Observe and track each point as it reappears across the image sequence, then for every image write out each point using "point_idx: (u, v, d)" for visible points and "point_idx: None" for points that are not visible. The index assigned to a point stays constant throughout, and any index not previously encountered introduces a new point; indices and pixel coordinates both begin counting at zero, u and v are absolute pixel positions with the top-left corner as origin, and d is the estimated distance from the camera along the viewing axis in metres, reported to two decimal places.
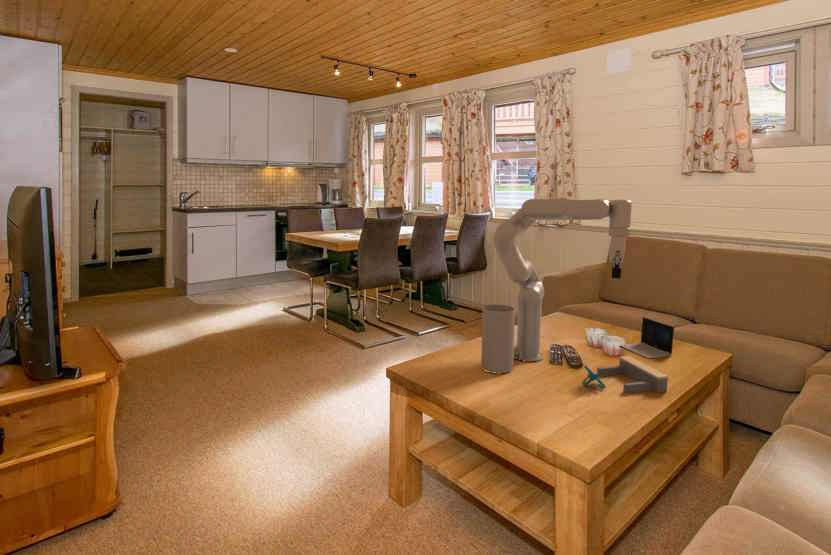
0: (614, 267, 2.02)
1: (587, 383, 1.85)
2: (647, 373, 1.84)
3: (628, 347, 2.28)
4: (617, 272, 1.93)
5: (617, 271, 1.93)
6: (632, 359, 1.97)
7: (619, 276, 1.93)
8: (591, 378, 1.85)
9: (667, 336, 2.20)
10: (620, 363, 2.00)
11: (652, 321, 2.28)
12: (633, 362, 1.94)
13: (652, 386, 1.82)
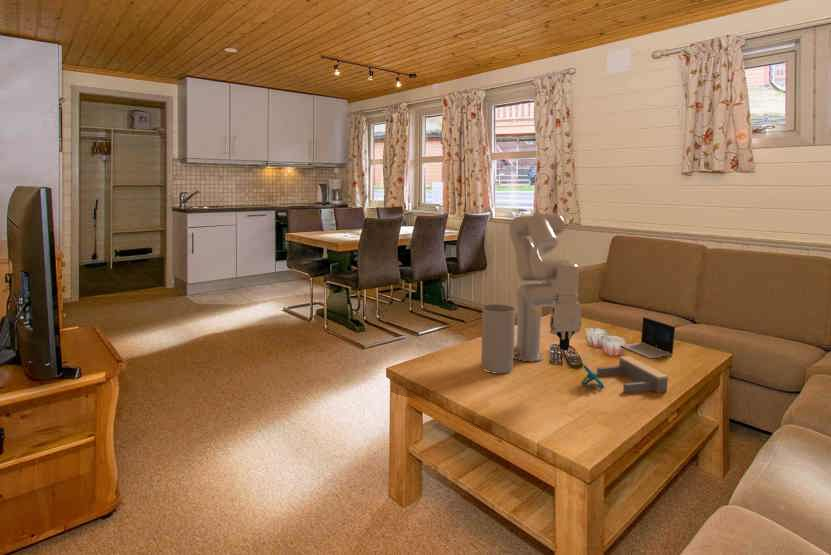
0: None
1: (586, 383, 1.86)
2: (647, 373, 1.84)
3: (629, 347, 2.28)
4: None
5: None
6: (632, 359, 1.97)
7: None
8: (590, 378, 1.85)
9: (668, 336, 2.20)
10: (620, 363, 2.00)
11: (653, 321, 2.28)
12: (633, 362, 1.94)
13: (652, 386, 1.82)
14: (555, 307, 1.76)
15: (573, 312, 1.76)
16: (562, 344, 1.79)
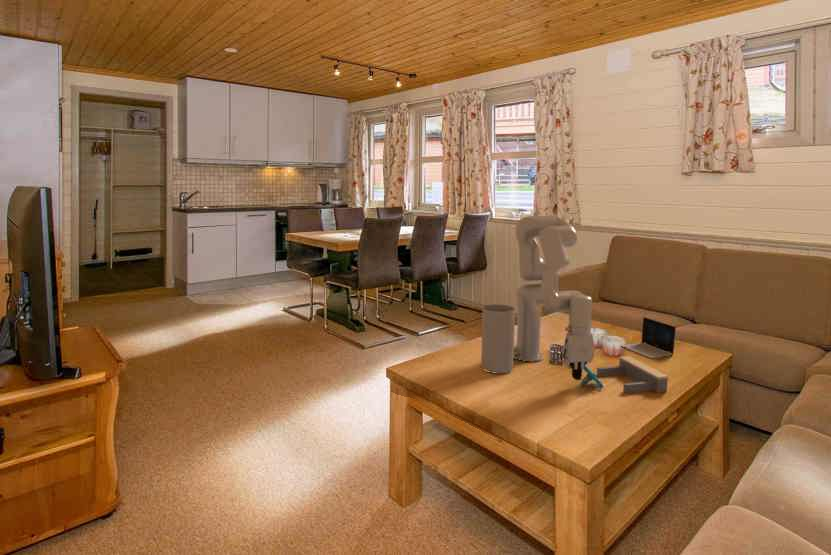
0: None
1: (585, 383, 1.86)
2: (647, 373, 1.84)
3: (629, 347, 2.28)
4: None
5: None
6: (632, 359, 1.97)
7: None
8: (589, 378, 1.85)
9: (668, 336, 2.20)
10: (620, 363, 2.00)
11: (653, 321, 2.28)
12: (633, 362, 1.94)
13: (652, 386, 1.82)
14: (568, 338, 1.79)
15: (586, 343, 1.79)
16: (575, 374, 1.83)
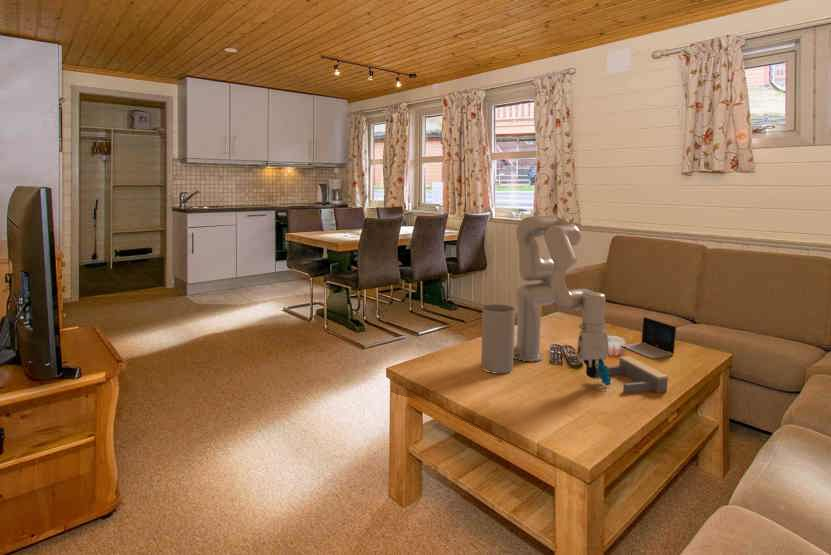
0: None
1: None
2: (647, 373, 1.84)
3: (630, 347, 2.28)
4: None
5: None
6: (632, 359, 1.97)
7: None
8: (599, 372, 1.85)
9: (669, 336, 2.20)
10: (620, 363, 2.00)
11: (653, 321, 2.28)
12: (633, 362, 1.94)
13: (652, 386, 1.82)
14: (582, 336, 1.80)
15: (600, 341, 1.80)
16: (589, 371, 1.83)
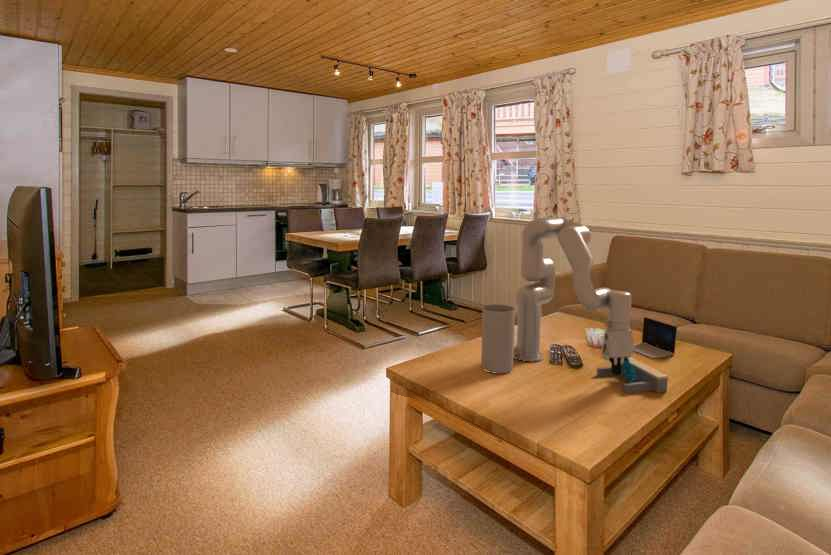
0: None
1: None
2: (647, 373, 1.84)
3: None
4: None
5: None
6: (632, 359, 1.97)
7: None
8: (624, 369, 1.87)
9: (670, 336, 2.21)
10: None
11: (654, 321, 2.28)
12: (633, 362, 1.94)
13: (652, 386, 1.82)
14: (608, 334, 1.82)
15: (626, 339, 1.82)
16: (614, 369, 1.86)
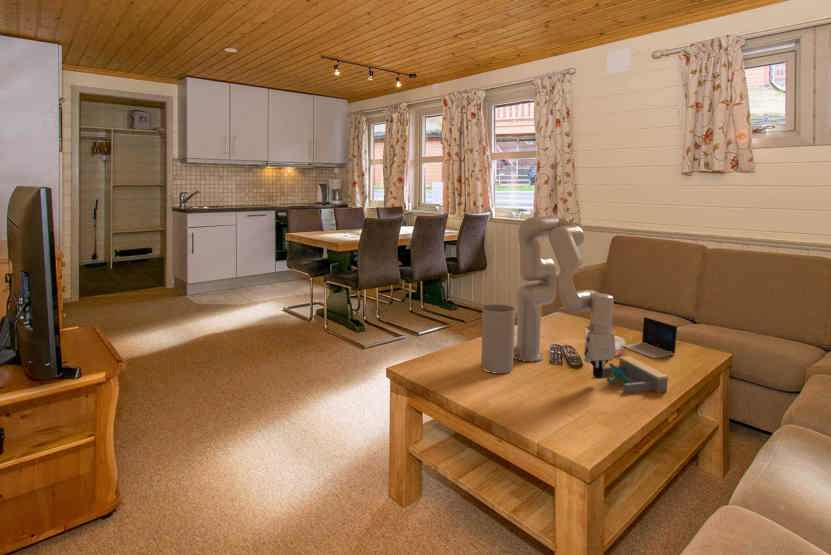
0: None
1: (613, 381, 1.88)
2: (647, 373, 1.84)
3: (631, 347, 2.28)
4: None
5: None
6: (632, 359, 1.97)
7: None
8: (617, 376, 1.87)
9: (670, 336, 2.21)
10: (620, 363, 2.00)
11: (654, 321, 2.28)
12: (633, 362, 1.94)
13: (652, 386, 1.82)
14: (590, 337, 1.81)
15: (607, 342, 1.81)
16: (596, 372, 1.85)
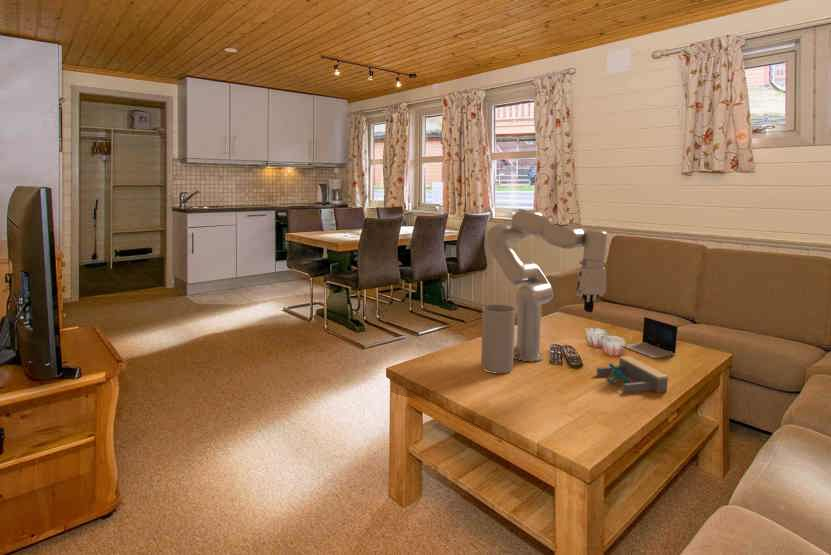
0: None
1: (613, 380, 1.88)
2: (647, 373, 1.84)
3: (631, 347, 2.28)
4: None
5: None
6: (632, 359, 1.97)
7: None
8: (616, 375, 1.87)
9: (670, 335, 2.21)
10: (620, 363, 2.00)
11: (654, 321, 2.28)
12: (633, 362, 1.94)
13: (652, 386, 1.82)
14: (582, 271, 1.88)
15: (599, 276, 1.88)
16: (587, 306, 1.92)
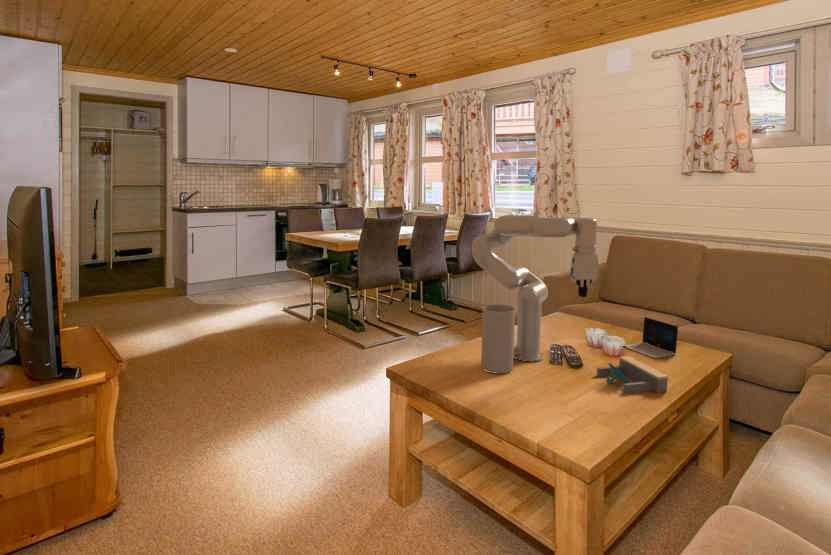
0: None
1: (612, 380, 1.88)
2: (647, 373, 1.84)
3: (632, 347, 2.28)
4: None
5: None
6: (632, 359, 1.97)
7: None
8: (616, 375, 1.87)
9: (671, 335, 2.21)
10: (620, 363, 2.00)
11: (654, 321, 2.28)
12: (633, 362, 1.94)
13: (652, 386, 1.82)
14: (575, 257, 1.96)
15: (591, 262, 1.96)
16: (581, 291, 1.99)
